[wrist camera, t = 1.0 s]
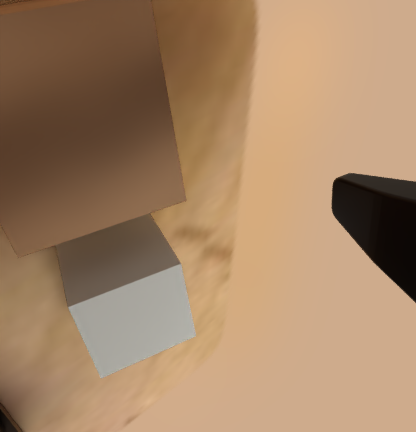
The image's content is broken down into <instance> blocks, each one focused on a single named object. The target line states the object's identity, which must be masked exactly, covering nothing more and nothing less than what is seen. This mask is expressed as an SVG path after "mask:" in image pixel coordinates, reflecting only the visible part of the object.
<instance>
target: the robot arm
mask: <svg viewBox="0 0 416 432" xmlns="http://www.w3.org/2000/svg"><path fill="white" fill-rule="evenodd" d="M332 212H333V214H334V216H335V218H336V219H337V220H338V221H339V223H340V224H341V225H342V226H343V227H344V228H345V230H346V231H347V232H348V233H349V234H350V236H351V237H352V238H353V239H354V240H355V241H356V243H357V244H358V245H359V246H360V247H361V248H362V250H363V251H364V252H365V253H366V254H367V255H368V256H369V258H370V259H371V260H372V261H373V262H374V263H375V264H376V265H377V266H378V267H379V268H380V269H381V270H382V271H383V272H384V273H385V274H386V275H387V276H388V277H389V278H390V279H391V280H393V282H395V283H396V284H397V285H398V286H399V287H400V288H401V289H402V290H403V291H404V292H405V293H406V294H407V295H408V296H409V297H410V298H411V299H412V300H413V301H414V302H415V303H416V182H413V181H407V180H399V179H392V178H384V177H377V176H369V175H362V174H355V173H349V174H346V175H343V176H341V177H338V178H336V179H335V180H334V182H333V188H332ZM0 432H22V431H21V429H20V428H19V427H18V426H17V424H16V423H15V422H14V420H13V419H12V418H11V416H10V415H9V414H8V412H7V411H6V410H5V408H4V407H3V406H2V404H1V403H0Z"/></svg>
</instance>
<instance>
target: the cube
mask: <svg viewBox="0 0 416 432" xmlns="http://www.w3.org/2000/svg"><path fill="white" fill-rule="evenodd" d="M55 247H56V252H57V256H58V261H59V266H60V271H61V276H62V281H63V286H64V291H65V295H66V300H67V305H68V309H69V311H70V313H71V315H72V317H73V319H74V321H75V324H76V326H77V328H78V330H79V332H80V334H81V336H82V339H83V341H84V343H85V345H86V347H87V349H88V352H89V354H90V356H91V358H92V360H93V362H94V364H95V367H96V369H97V371H98V373H99V375H100V377H101V378H103V377H106V376H108V375H110V374H112V373H115V372H117V371H119V370H121V369H123V368H126V367H128V366H130V365H132V364H135V363H137V362H139V361H141V360H144V359H146V358H148V357H150V356H153V355H155V354H157V353H159V352H162V351H164V350H166V349H168V348H171V347H173V346H175V345H177V344H179V343H182V342H184V341H186V340H188V339H191V338H193V337H195V336H196V333H195V328H194V323H193V319H192V314H191V309H190V304H189V299H188V295H187V290H186V285H185V280H184V275H183V271H182V266H181V263H180V261H179V260H178V258H177V256H176V255H175V253H174V252H173V250H172V248H171V247H170V245H169V243H168V242H167V240H166V239H165V237H164V235H163V234H162V232H161V231H160V229H159V227H158V226H157V224H156V223H155V221H154V219H153V218H152V216H151V215H150V213H149V214H146V215H143V216H140V217H137V218H134V219H131V220H128V221H125V222H122V223H119V224H116V225H114V226H111V227H108V228H105V229H102V230H99V231H96V232H93V233H90V234H87V235H84V236H81V237H78V238H75V239H72V240H69V241H66V242H64V243H61V244H58V245H55Z"/></svg>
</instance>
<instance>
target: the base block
mask: <svg viewBox="0 0 416 432" xmlns="http://www.w3.org/2000/svg"><path fill="white" fill-rule="evenodd" d="M184 201H186V196H185V190H184V185H183V179H182V173H181V168H180V162H179V156H178V151H177V145H176V139H175V134H174V128H173V122H172V117H171V111H170V105H169V100H168V94H167V88H166V83H165V77H164V71H163V66H162V60H161V54H160V49H159V43H158V37H157V32H156V26H155V20H154V14H153V9H152V3H151V0H29V1H23V2H17V3H11V4H5V5H0V224H1V226H2V228H3V230H4V232H5V234H6V236H7V238H8V240H9V242H10V244H11V246H12V247H13V249H14V251H15V253H16V255H17V257H18V258H19V257H22V256H25V255H28V254H31V253H34V252H37V251H40V250H43V249H46V248H49V247H52V246H55V245H58V244H61V243H64V242H66V241H69V240H72V239H75V238H78V237H81V236H84V235H87V234H90V233H93V232H96V231H99V230H102V229H105V228H108V227H111V226H114V225H116V224H119V223H122V222H125V221H128V220H131V219H134V218H137V217H140V216H143V215H146V214H149V213H152V212H155V211H158V210H161V209H164V208H166V207H169V206H172V205H175V204H178V203H181V202H184Z"/></svg>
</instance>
